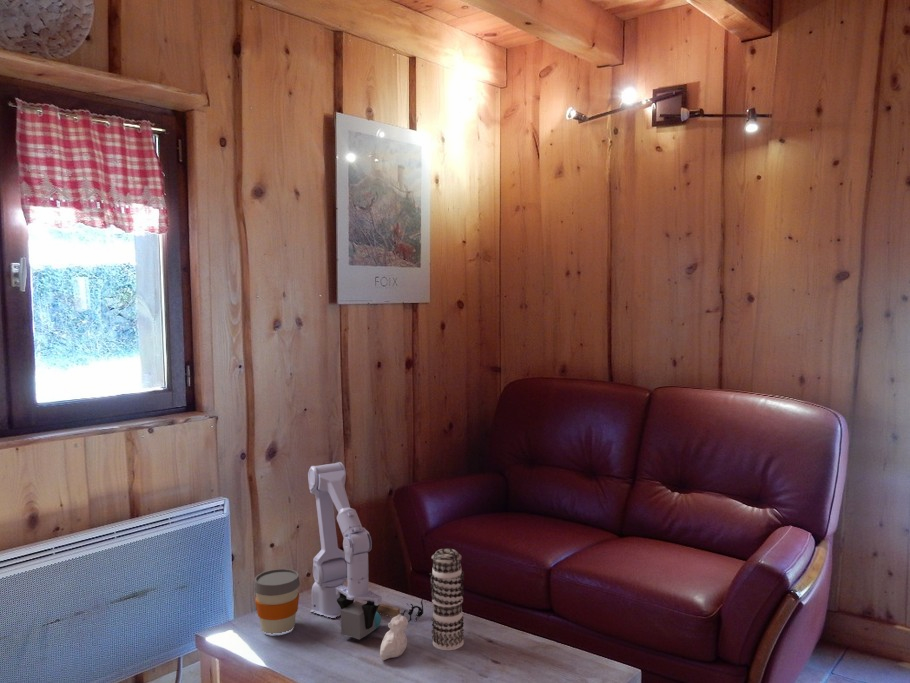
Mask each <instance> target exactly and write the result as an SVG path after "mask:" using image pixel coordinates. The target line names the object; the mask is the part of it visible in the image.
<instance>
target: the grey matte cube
mask: <svg viewBox="0 0 910 683" xmlns="http://www.w3.org/2000/svg"><path fill="white" fill-rule="evenodd" d="M364 604H365V603H363V602H360V601H356V600H355V601H354V603H352V604H350V605H349V606H347V607H345V608H344V609H342V610H341V615H340V628H341V629H340V633H341V635H343V636H347V637H351V638H353V639H357V640H361V639H363V638H365V637H366V636H367V635H369V634H371V633H372V632H374V631H375V630H376V629H375V617H374V621H373V626H372V627H371V628H369V629H366V627H365V616H364V612H363V609H362V605H364Z"/></svg>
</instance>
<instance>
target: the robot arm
mask: <svg viewBox="0 0 910 683" xmlns="http://www.w3.org/2000/svg"><path fill="white" fill-rule="evenodd" d="M346 478H347V469H346V467H345V465H344V463H342V462H341V461H337V462H334V463H327V464H322V465H321V464H319V465H311V466H310V468H309V469H308V473H307V479H308V489H309V492H310V494H312V495H314V498H315V504H316V511H317V512H316V514H317V522H318V531H319V539H320V550H319V552H318V553H317V554H316V555H315V556H314V557H313V560H312V562H313V563H312V576H313V579H314V582H313V584H312V586H311V592H310V593H311V597H310V598H311V610H309V613H311V612H313V611H315V612H314V613H317V614H320V615H319V616H321V615H324V616H327V617H326V618H328V617H331V618H335V619H337V618H338V617H341V610H342V609H344V608H345V607H347V606H349V605H350V604H352V603H354V602H355V600H360V601H363V602H366V603H364V605H362V609H363V612H364V616H365V627H366V629H369V628H371V627H372V626H373V621H374V617H375V614H376V611H377V609H378V607H379V605H380V604H383V603H382V595H379V594H377V593H375V592H373V591H372V590H370V589H369V552H371V550H372V547H373V546H372V544H373V543H372V537H371V535H370V532H369V531H368V530H367V529H366V527H363V526H362V523H361V520H360V518H359V516H358V513H357V511H356V509H355V508H351V506H350V501H349V498H348V495H347V491H346V488H345V485H346V484H345V483H346ZM334 506H335V508H334ZM334 509H336V510H337V512H338V513H337V515H336V519H335V510H334ZM336 521H337V524H338V527H339V529H340V532H341V535H342V537H343V540H342V541H343V542H342V548H343V550H342V549H340V548H339V544H338V536H337V529H336V528H337V526H336ZM346 582H347V586H345V583H346ZM314 613H313V614H314ZM317 614H316V615H317ZM324 616H323V617H324ZM337 616H338V617H337ZM336 617H337V618H336ZM331 618H330V619H331Z"/></svg>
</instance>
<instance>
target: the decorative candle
mask: <svg viewBox="0 0 910 683" xmlns="http://www.w3.org/2000/svg"><path fill="white" fill-rule="evenodd" d="M431 560H432V571H431V572H430V573H429V576H430V578H429V580H430V582H429V583H430V589H431V592H430V593H431V594H430V596H431V602H432V603H433V611H432V616H431V620H432V624H431V626H432V630H431V633H432V636H431V639H432V645H433V647H434V648H436V649H438V650H440V651H454V650H458V649H461V648H462V646H463V645H464V637H465V636H464V630H465V629H464V624H465V623H464V618H465V617H464V616H463V609H462V603H463V602H464V597H463V596H464V593H465V591H464V588H465V586H464V584H462V583H463V582H465V578H464V577H465V572H464V571H463V570H462V563H461V562H462V555H461V554H460V553H459V552H458V551H457V550H456V549H453V548H446V547H445V548H440V549H438V550H436V551H435V553H434V554H432V555H431Z"/></svg>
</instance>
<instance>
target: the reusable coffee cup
mask: <svg viewBox="0 0 910 683" xmlns="http://www.w3.org/2000/svg"><path fill="white" fill-rule="evenodd" d="M300 584H301V583H300V578H299V573H298V572H297V571H296V570H294V569H290V568H277V569H276V568H275V569H268V570H265V571H262V572H261V573H259V574H257V575H256V576H255V577H254V583H253V591H254V592H255V598H254V599H255V600H254V601H255V608H256V613H257V617H259V622H260V628H261V629H260V630H261V632H262V631H264V632H266V633H271V634H273V633H282V632H286V631H289V630H291V629H292V628H293V627H294V625H295V624H296V614H297V612H298V609H299V602H300V601H299V599H300V593H299V587H300ZM294 628H295V627H294Z"/></svg>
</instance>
